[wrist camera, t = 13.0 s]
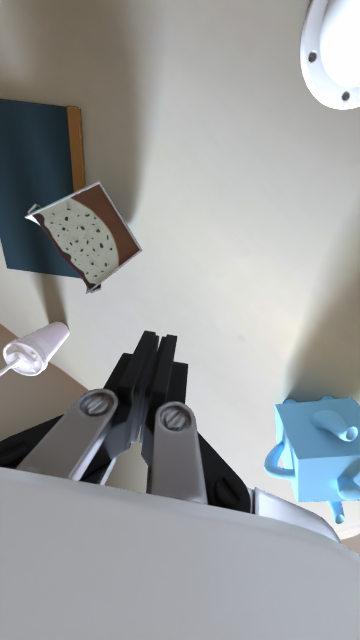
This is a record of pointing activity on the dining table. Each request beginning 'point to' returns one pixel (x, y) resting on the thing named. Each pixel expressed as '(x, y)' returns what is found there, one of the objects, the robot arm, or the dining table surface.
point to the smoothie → (34, 349)
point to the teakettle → (319, 450)
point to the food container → (88, 233)
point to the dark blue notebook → (36, 179)
